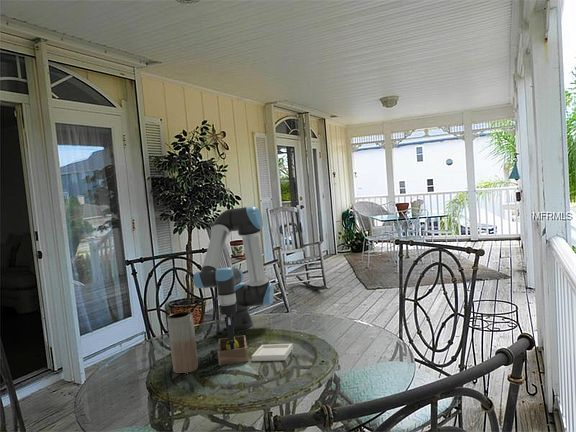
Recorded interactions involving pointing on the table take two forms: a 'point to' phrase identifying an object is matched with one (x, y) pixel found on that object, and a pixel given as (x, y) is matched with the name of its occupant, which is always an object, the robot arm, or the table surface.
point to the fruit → (235, 345)
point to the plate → (272, 352)
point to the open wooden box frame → (232, 351)
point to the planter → (182, 342)
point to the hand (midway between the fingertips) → (233, 355)
